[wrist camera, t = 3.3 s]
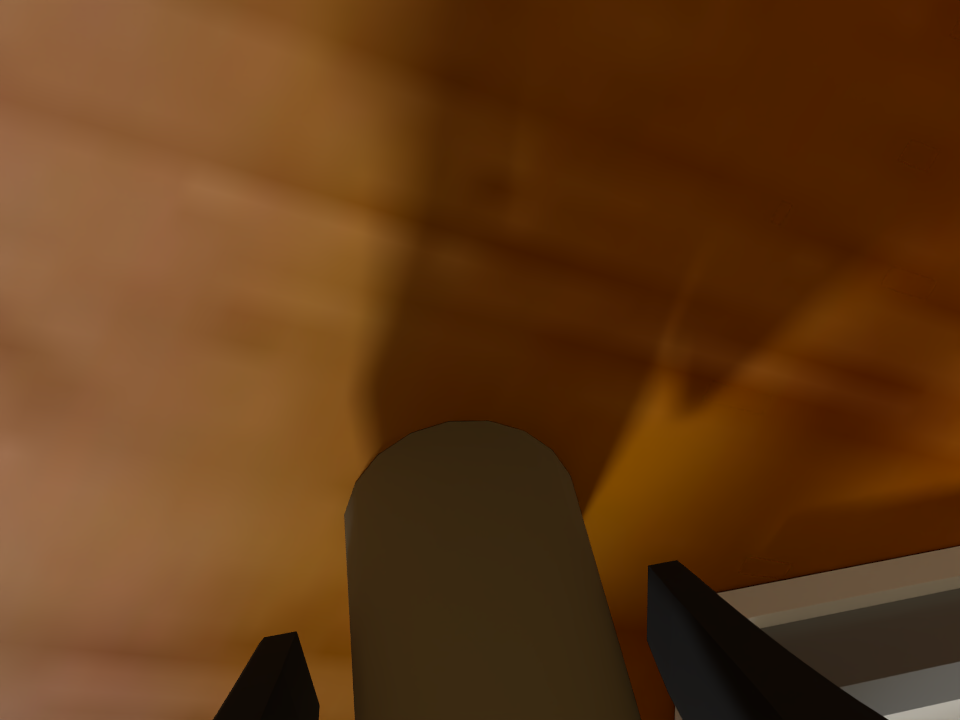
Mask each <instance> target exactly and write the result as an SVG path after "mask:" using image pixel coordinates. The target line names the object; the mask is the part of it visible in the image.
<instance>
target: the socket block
mask: <svg viewBox="0 0 960 720" xmlns="http://www.w3.org/2000/svg"><path fill="white" fill-rule="evenodd" d="M717 594H718V595H719V596H721V597H722V598H723V599H724V600H725V601H727V602H728V603H729V604H730V605H731V606H733V607H734V608H735V609H736V610H738V611H739V612H740V613H741V614H742V615H744V616H745V617H746V618H747V619H749V620H750V621H751V622H752V623H754V624H755V625H756V626H758V627H759V628H760V629H761V630H763V631H764V632H765V633H766V634H768V635H769V636H770V637H772V638H773V639H774V640H775V641H777V642H778V643H779V644H781V645H782V646H783V647H784V648H786V649H787V650H788V651H790V652H791V653H792V654H794V655H795V656H796V657H798V658H799V659H800V660H802V661H803V662H804V663H806V664H807V665H809V666H810V667H811V668H813V669H814V670H816V671H817V672H818V673H820V674H821V675H823V676H824V677H825V678H827V679H828V680H830V681H831V682H832V683H834V684H835V685H837V686H838V687H840V688H841V689H842V690H844V691H845V692H847V693H848V694H850V695H851V696H853V697H854V698H856V699H857V700H859V701H860V702H862V703H863V704H865V705H866V706H868V707H869V708H871V709H873V710H874V711H876V712H877V713H879V714H880V715H882V716H884V717H885V718H887V719H888V720H960V546H958V547H953V548H947V549H942V550H937V551H932V552H927V553H922V554H917V555H911V556H906V557H901V558H896V559H891V560H886V561H881V562H875V563H870V564H865V565H860V566H855V567H850V568H845V569H839V570H834V571H829V572H824V573H819V574H814V575H808V576H803V577H798V578H793V579H788V580H783V581H778V582H772V583H767V584H762V585H757V586H752V587H747V588H742V589H736V590H731V591H726V592H721V593H717ZM675 720H682V718H681V716H680V714H679V712H678V710H677V708H676V707H675Z"/></svg>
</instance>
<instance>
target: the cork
mask: <svg viewBox="0 0 960 720" xmlns="http://www.w3.org/2000/svg"><path fill="white" fill-rule="evenodd" d="M344 517H345V538H346V558H347V577H348V596H349V615H350V634H351V653H352V672H353V691H354V710H355V720H641V718H640V714H639V711H638V707H637V704H636V700H635V697H634V693H633V690H632V687H631V683H630V680H629V676H628V673H627V669H626V666H625V662H624V659H623V655H622V652H621V649H620V645H619V642H618V638H617V635H616V631H615V628H614V624H613V621H612V617H611V614H610V611H609V607H608V604H607V600H606V597H605V593H604V590H603V586H602V583H601V580H600V576H599V573H598V569H597V566H596V562H595V559H594V555H593V552H592V548H591V545H590V542H589V538H588V535H587V531H586V528H585V524H584V521H583V517H582V514H581V510H580V507H579V504H578V500H577V497H576V493H575V490H574V486H573V483H572V479H571V476H570V474H569V473H568V472H567V470H566V469H565V467H564V466H563V464H562V463H561V462H560V460H559V459H558V457H557V456H556V455H555V453H554V452H553V450H551V449H550V448H549V447H547V446H546V445H544V444H543V443H541V442H540V441H538V440H537V439H535V438H534V437H532V436H531V435H529V434H528V433H526V432H525V431H523V430H519V429H516V428H512V427H508V426H505V425H501V424H498V423H494V422H491V421H454V422H446V423H443V424H440V425H436V426H433V427H430V428H427V429H423V430H420V431H417V432H413V433H410V434H409V435H407V436H406V437H404V438H403V439H401V440H400V441H398V442H397V443H395V444H394V445H392V446H391V447H389V448H388V449H386V450H385V451H383V452H382V453H380V454H379V455H378V456H377V457H376V458H375V459H374V461H373V462H372V463H371V464H370V466H369V467H368V468H367V469H366V471H365V472H364V473H363V474H362V475H361V477H360V478H359V479H358V480H357V482H356V483H355V486H354V488H353V491H352V494H351V497H350V500H349V503H348V506H347V509H346V512H345V514H344Z"/></svg>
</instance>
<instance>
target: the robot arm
mask: <svg viewBox="0 0 960 720" xmlns="http://www.w3.org/2000/svg"><path fill="white" fill-rule="evenodd" d="M647 642H648V644H649V647H650V649H651V652H652V654H653V657H654V659H655V662H656V664H657V667H658V669H659V672H660V674H661V676H662V679H663V681H664V684H665V686H666V688H667V691H668V693H669V695H670V697H671V699H672V701H673V703H674V705H675V707H676V708H677V710H678V712H679V714H680V716H681V718H682V720H888V719H887V718H885V717H884V716H882V715H880V714H879V713H877V712H876V711H874V710H873V709H871V708H869V707H868V706H866V705H865V704H863V703H862V702H860V701H859V700H857V699H856V698H854V697H853V696H851V695H850V694H848V693H847V692H845V691H844V690H842V689H841V688H840V687H838V686H837V685H835V684H834V683H832V682H831V681H830V680H828V679H827V678H825V677H824V676H823V675H821V674H820V673H818V672H817V671H816V670H814V669H813V668H811V667H810V666H809V665H807V664H806V663H804V662H803V661H802V660H800V659H799V658H798V657H796V656H795V655H794V654H792V653H791V652H790V651H788V650H787V649H786V648H784V647H783V646H782V645H781V644H779V643H778V642H777V641H775V640H774V639H773V638H772V637H770V636H769V635H768V634H766V633H765V632H764V631H763V630H761V629H760V628H759V627H758V626H756V625H755V624H754V623H752V622H751V621H750V620H749V619H747V618H746V617H745V616H744V615H742V614H741V613H740V612H739V611H738V610H736V609H735V608H734V607H733V606H731V605H730V604H729V603H728V602H727V601H725V600H724V599H723V598H722V597H721V596H719V595H718V594H717V593H716V592H715V591H713V590H712V589H711V588H710V587H709V586H707V585H706V584H705V583H704V582H703V581H701V580H700V579H699V578H698V577H697V576H696V575H694V574H693V573H692V572H691V571H690V570H688V569H687V568H686V567H685V566H684V565H682V564H681V563H680V562H679V561H677V560H676V561H670V562H665V563H660V564H654V565H649V566H648V606H647ZM319 706H320V705H319V702H318V699H317V696H316V692H315V689H314V686H313V683H312V679H311V676H310V673H309V670H308V667H307V663H306V660H305V657H304V654H303V650H302V647H301V644H300V641H299V637H298V634H297V631H296V632H291V633H285V634H280V635H275V636H269V637H264V638H263V640H262V641H261V642H260V643H259V645H258V647H257V648H256V650H255V652H254V653H253V655H252V657H251V658H250V660H249V662H248V663H247V665H246V667H245V668H244V670H243V672H242V673H241V675H240V677H239V678H238V680H237V682H236V683H235V685H234V687H233V688H232V690H231V692H230V693H229V695H228V696H227V698H226V700H225V701H224V703H223V704H222V706H221V708H220V709H219V711H218V713H217V714H216V716H215V717H214V719H213V720H319Z"/></svg>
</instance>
